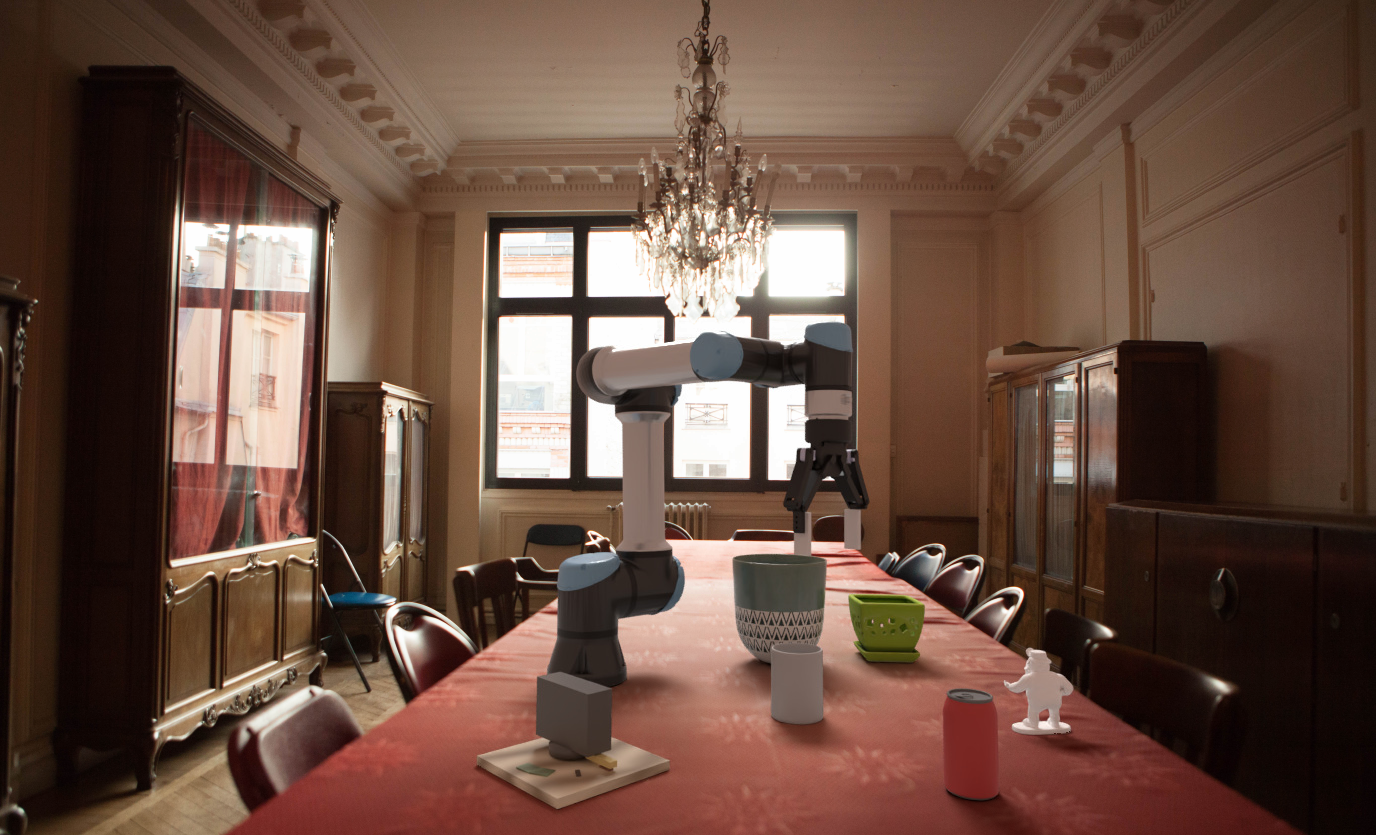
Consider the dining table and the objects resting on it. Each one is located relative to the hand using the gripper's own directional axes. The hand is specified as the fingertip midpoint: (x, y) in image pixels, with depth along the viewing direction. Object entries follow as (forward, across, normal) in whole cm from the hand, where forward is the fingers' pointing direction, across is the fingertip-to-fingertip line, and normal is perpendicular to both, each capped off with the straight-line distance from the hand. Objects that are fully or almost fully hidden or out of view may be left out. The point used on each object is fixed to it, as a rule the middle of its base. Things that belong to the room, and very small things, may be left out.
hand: (828, 552), depth 125 cm
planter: (+28, +27, +32) cm, 50 cm away
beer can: (+27, -8, -27) cm, 39 cm away
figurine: (+27, +23, -24) cm, 43 cm away
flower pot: (+28, +47, +18) cm, 57 cm away
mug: (+27, +2, +8) cm, 29 cm away
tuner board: (+27, -39, +14) cm, 50 cm away
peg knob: (+26, -38, +14) cm, 48 cm away
